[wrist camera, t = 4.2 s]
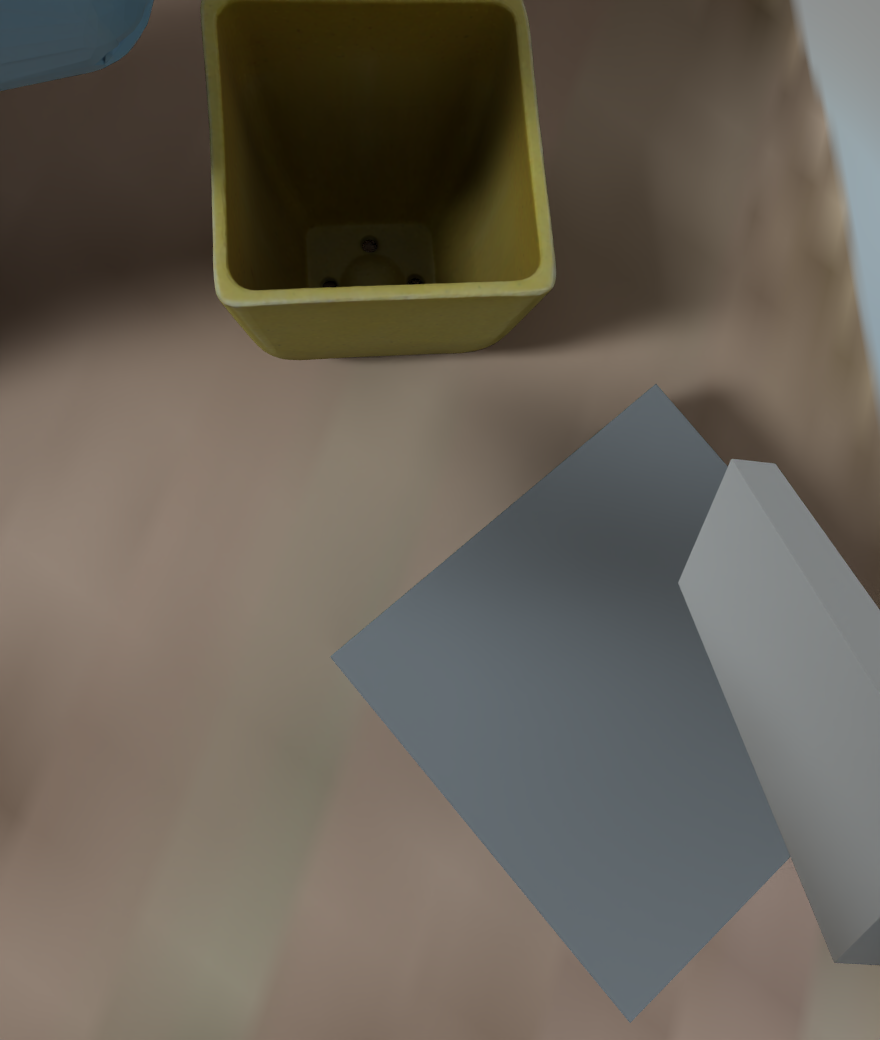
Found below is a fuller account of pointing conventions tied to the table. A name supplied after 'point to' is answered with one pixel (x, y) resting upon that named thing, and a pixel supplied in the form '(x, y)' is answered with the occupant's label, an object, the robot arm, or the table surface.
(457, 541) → the table surface
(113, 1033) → the table surface
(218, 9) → the flower pot
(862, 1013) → the table surface
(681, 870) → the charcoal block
